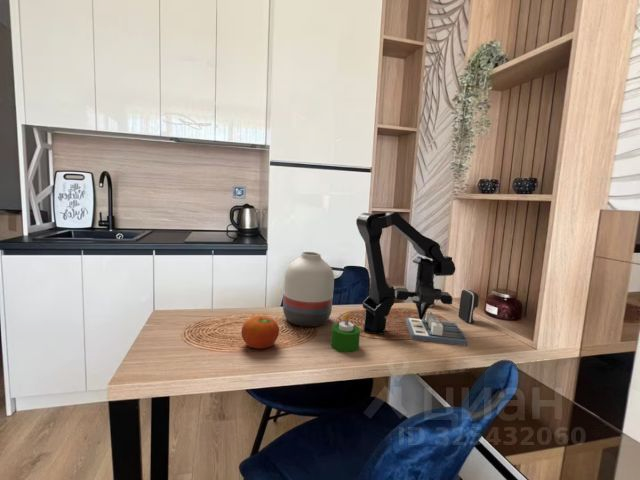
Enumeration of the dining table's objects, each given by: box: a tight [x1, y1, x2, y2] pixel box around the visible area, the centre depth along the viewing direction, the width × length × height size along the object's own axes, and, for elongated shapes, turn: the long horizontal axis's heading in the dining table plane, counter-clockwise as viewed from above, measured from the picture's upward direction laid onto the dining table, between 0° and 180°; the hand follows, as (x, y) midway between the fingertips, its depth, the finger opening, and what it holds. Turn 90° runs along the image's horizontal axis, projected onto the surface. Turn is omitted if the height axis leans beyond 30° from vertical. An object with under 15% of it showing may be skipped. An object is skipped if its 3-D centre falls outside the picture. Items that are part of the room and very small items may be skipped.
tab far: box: [424, 311, 438, 323], centre depth 124 cm, size 3×3×3 cm
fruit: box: [241, 315, 280, 349], centre depth 101 cm, size 11×10×8 cm
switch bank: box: [405, 317, 468, 346], centre depth 120 cm, size 17×16×2 cm
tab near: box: [431, 322, 443, 336], centre depth 115 cm, size 3×3×3 cm
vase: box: [282, 251, 335, 328], centre depth 121 cm, size 17×17×24 cm
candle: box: [330, 313, 361, 354], centre depth 104 cm, size 8×8×10 cm
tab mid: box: [428, 317, 441, 329], centre depth 119 cm, size 3×3×3 cm
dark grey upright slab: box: [458, 289, 480, 324], centre depth 134 cm, size 7×4×11 cm, turn 10°
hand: (420, 319), depth 125 cm, fingers closed
